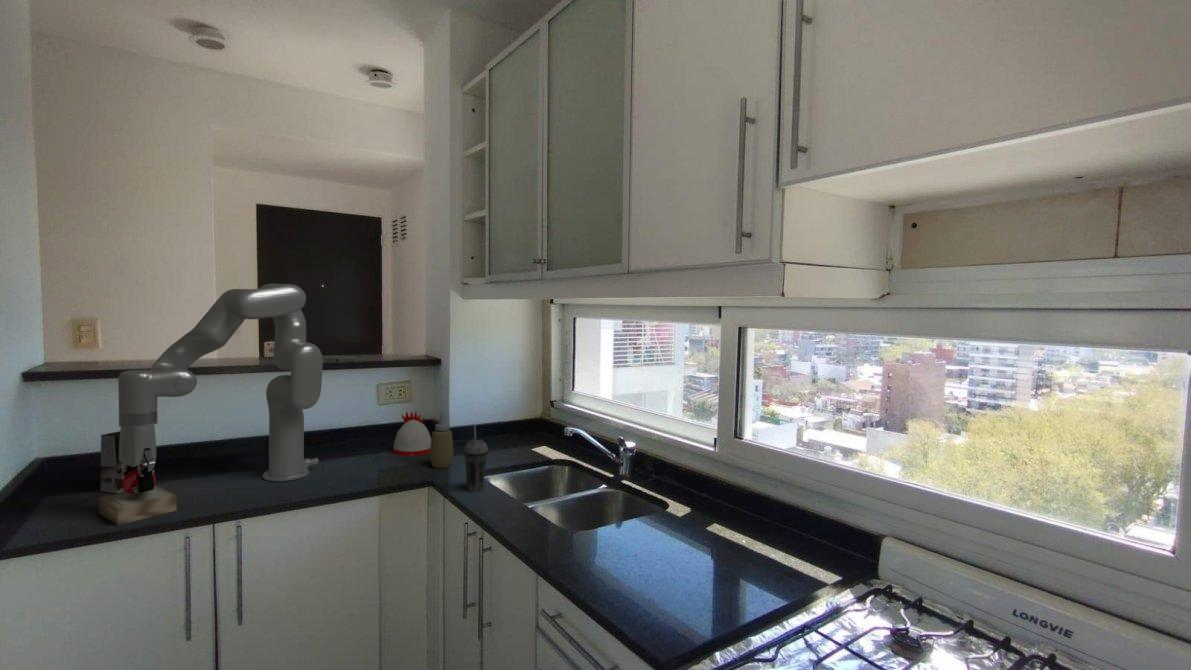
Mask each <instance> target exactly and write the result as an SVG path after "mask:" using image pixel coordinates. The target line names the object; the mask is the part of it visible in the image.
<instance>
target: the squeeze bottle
mask: <svg viewBox="0 0 1191 670" xmlns="http://www.w3.org/2000/svg"><path fill="white" fill-rule="evenodd" d="M434 426H435V427H434V431H432V433H431V447H430V453H429V457H428V458H429V461H430V463H431V466H432V468H435V469H446V468H449V467H451V464H452V462H453V459H454V454H455V453H454V444H453V442H454V441H453V431H451V430H450V424H448V423H447V421H446V416H445V414H444V413H441V414H440V417H439V420H438V423H437V424H435V425H434Z"/></svg>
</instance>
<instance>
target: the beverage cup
mask: <svg viewBox="0 0 1191 670" xmlns="http://www.w3.org/2000/svg"><path fill="white" fill-rule="evenodd" d="M476 427H477V426H476V424H473V434H474V435H473V437H474V438H472V439H470V440H469V441H468V442H466V444H465V447H464V450H463V455H464V460H465V461H464V462H465V475H466V487H467V492H471V493H479V492H482V491H483V488H484V483H485V473H486V466H487V458H488V455H489V448H488V444H487V443H486V442H485V441H484V440H483V439H481V438H478V437H477V431H476V430H477V428H476ZM481 487H482V488H481ZM471 488H472V489H471ZM476 488H478V489H476Z"/></svg>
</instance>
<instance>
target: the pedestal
mask: <svg viewBox="0 0 1191 670" xmlns="http://www.w3.org/2000/svg"><path fill="white" fill-rule="evenodd" d="M133 491H134V494H130V493H129V494H128V493H127V492H126V491H125V492H121V493H115V494H112V495H108V496H102V497H99V498H98V501H99V505H98V507H99V508H98V509H99V512H98V513H99V514H100V516H102V517H104V518H106V519H107V520H109V521H111V522H112V523H114V524H115V525H117V526H120V525H124V524H128V523H133V522H136V521H139V520H145V519H148V518H151V517H157V516H160V515H164V514H168V513H172V512H177V509H178V508H177V507H178V506H177V505H178V504H177V503H178V502H177V501H178V500H177V497H178V495H177V494H175V493H173V492H171V491H168V490H166V489H164V488H162V487H160V486H158V485H154V489H153V490H151V491H146V492H142V493H139V492H138V490H137V489H136V490H133Z"/></svg>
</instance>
